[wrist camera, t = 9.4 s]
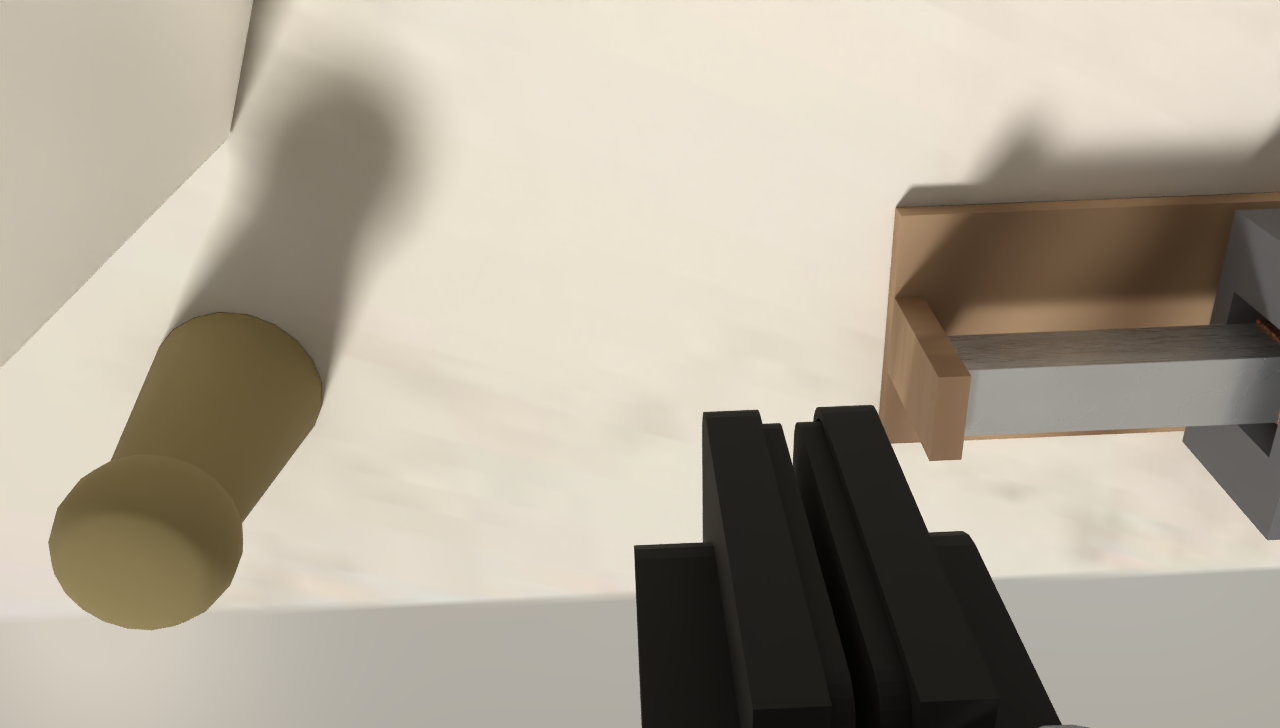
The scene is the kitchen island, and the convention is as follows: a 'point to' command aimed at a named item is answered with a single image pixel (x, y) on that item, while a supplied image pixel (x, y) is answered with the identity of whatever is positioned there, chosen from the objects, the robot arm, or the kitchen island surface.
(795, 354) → the kitchen island surface
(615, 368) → the kitchen island surface
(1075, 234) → the wooden rail stand
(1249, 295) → the notched grey block
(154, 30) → the gable box
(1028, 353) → the rail
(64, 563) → the cork
